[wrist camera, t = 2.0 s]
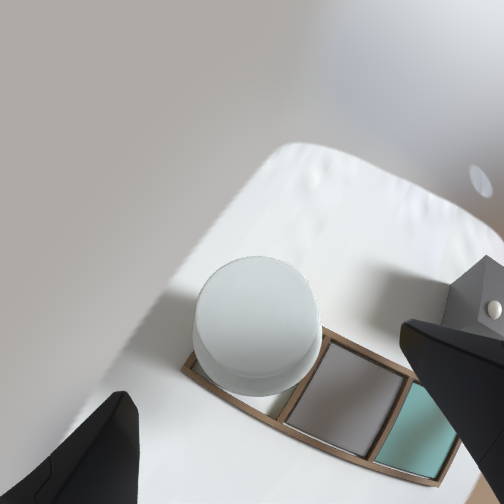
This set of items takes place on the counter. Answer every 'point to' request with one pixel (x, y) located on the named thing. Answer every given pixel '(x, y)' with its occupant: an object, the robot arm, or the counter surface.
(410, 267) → the counter surface
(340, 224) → the counter surface
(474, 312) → the die
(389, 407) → the board
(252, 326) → the supplement bottle
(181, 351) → the counter surface
